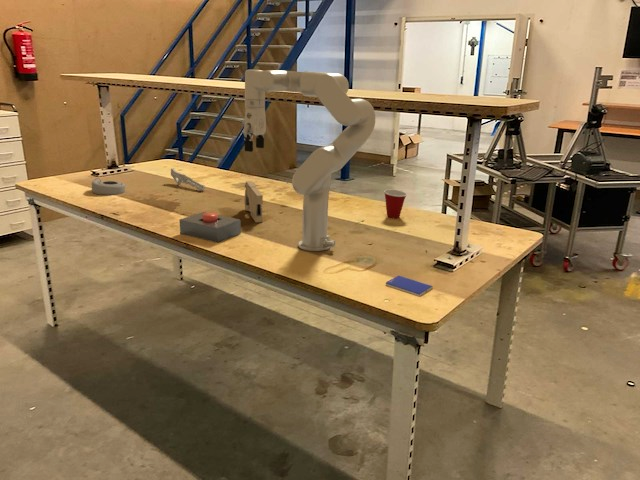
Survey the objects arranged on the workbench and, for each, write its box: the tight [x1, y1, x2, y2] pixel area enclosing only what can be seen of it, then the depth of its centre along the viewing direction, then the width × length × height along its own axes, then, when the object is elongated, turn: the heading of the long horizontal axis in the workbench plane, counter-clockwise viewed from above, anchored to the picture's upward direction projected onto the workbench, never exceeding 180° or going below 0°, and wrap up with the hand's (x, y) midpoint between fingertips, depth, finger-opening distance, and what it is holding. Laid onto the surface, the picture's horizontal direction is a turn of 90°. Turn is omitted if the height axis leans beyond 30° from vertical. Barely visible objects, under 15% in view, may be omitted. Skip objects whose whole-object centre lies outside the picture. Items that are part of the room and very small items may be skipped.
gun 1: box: [170, 168, 206, 192], centre depth 287 cm, size 2×30×8 cm, turn 49°
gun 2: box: [243, 180, 264, 223], centre depth 235 cm, size 24×3×15 cm, turn 21°
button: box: [202, 212, 218, 223], centre depth 208 cm, size 6×6×3 cm
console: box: [179, 211, 242, 243], centre depth 210 cm, size 20×14×6 cm
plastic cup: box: [383, 189, 408, 219], centre depth 240 cm, size 11×11×12 cm
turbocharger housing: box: [91, 177, 126, 196], centre depth 272 cm, size 17×6×15 cm
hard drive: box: [385, 275, 433, 297], centre depth 164 cm, size 2×8×12 cm
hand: (254, 149), depth 200 cm, fingers open, 9 cm apart
